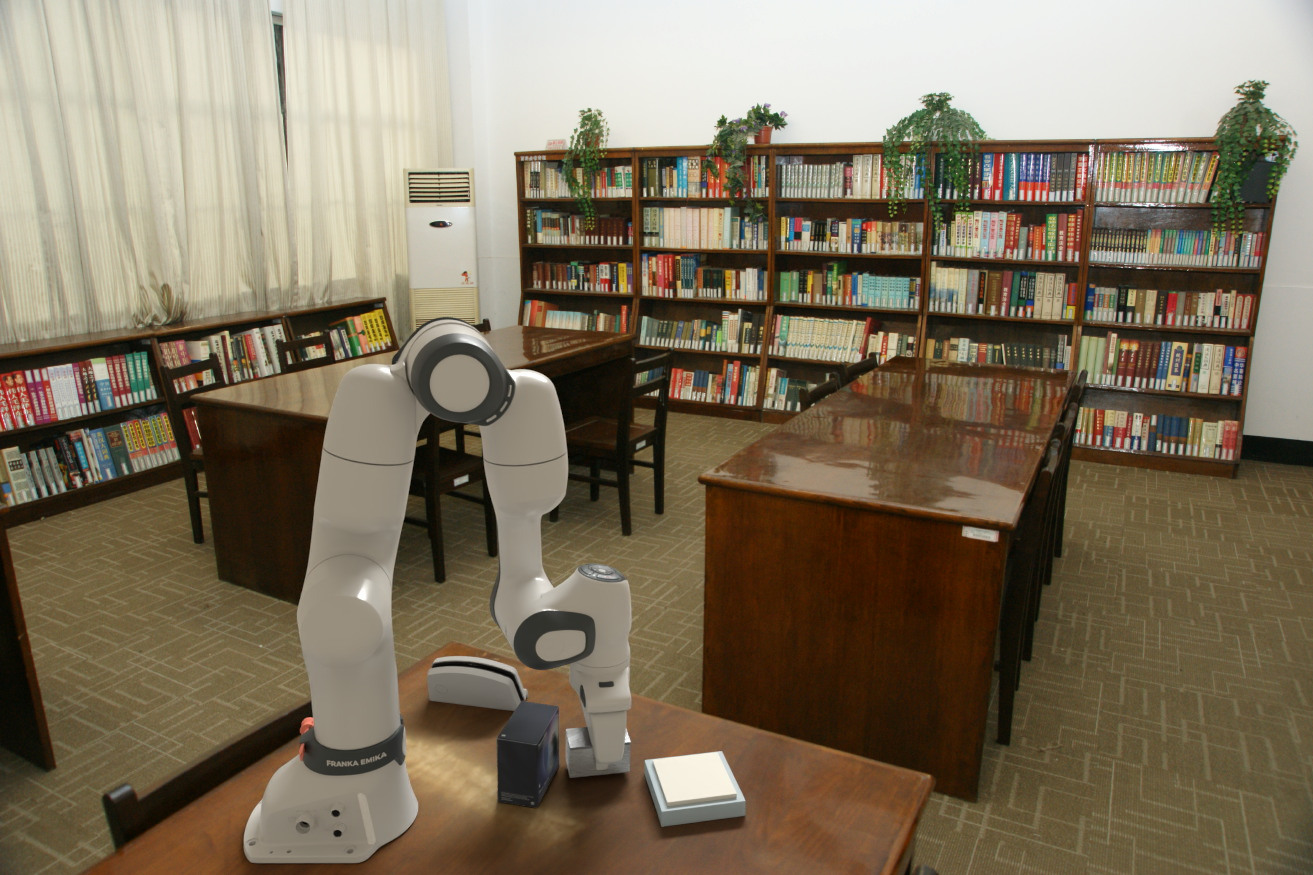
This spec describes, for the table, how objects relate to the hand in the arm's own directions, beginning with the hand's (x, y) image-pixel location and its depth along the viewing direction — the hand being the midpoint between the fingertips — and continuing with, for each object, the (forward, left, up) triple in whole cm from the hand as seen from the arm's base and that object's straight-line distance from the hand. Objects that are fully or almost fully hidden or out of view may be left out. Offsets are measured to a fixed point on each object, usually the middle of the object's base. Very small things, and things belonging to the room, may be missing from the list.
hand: (597, 754), depth 136 cm
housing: (0, 0, -2) cm, 2 cm away
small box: (-10, -1, -3) cm, 11 cm away
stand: (+13, -8, -3) cm, 15 cm away
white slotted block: (-18, +23, -3) cm, 29 cm away
